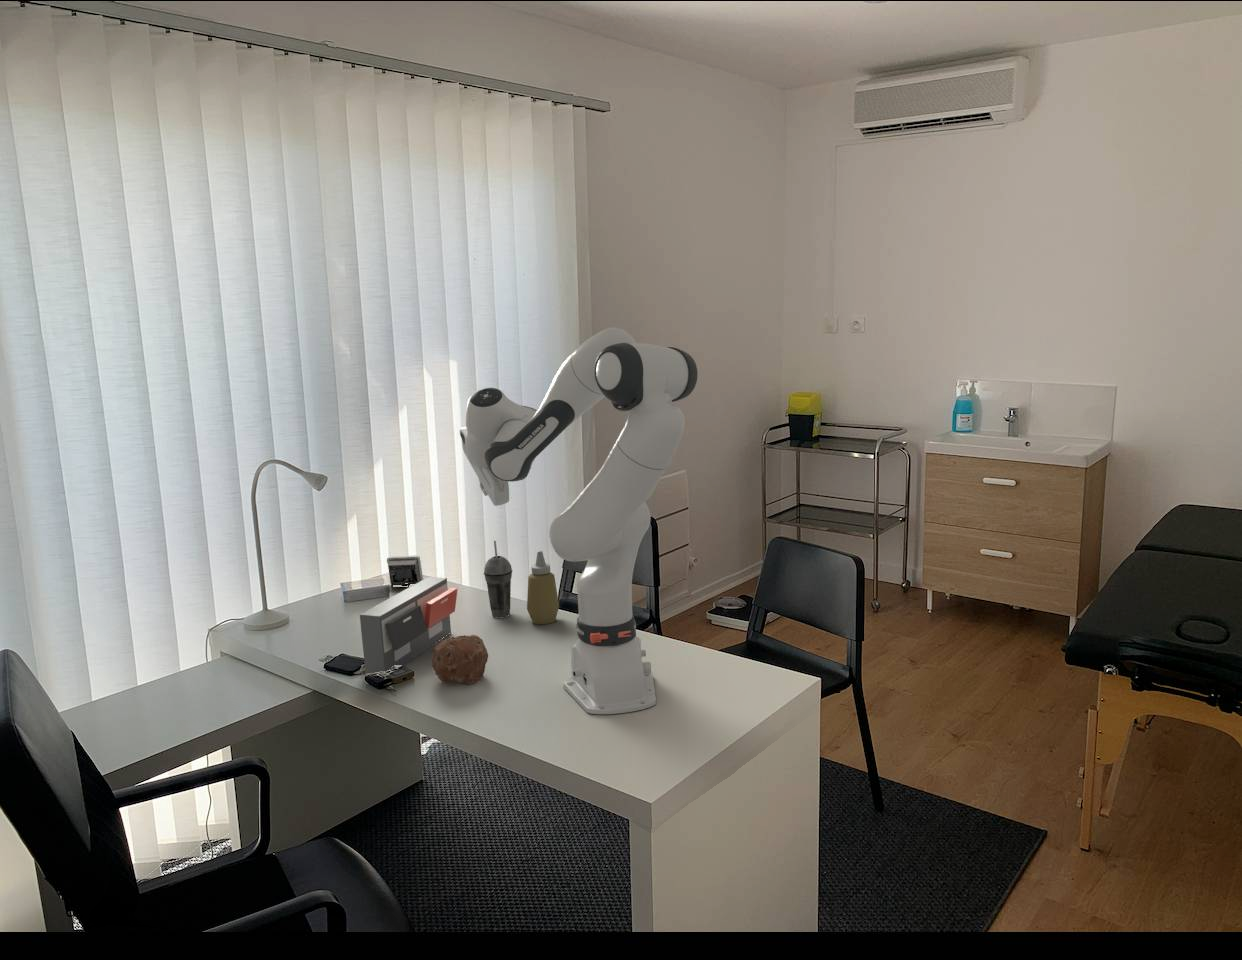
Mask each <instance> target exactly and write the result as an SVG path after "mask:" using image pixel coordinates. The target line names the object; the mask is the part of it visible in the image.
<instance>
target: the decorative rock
mask: <svg viewBox="0 0 1242 960" xmlns="http://www.w3.org/2000/svg"><path fill="white" fill-rule="evenodd" d="M488 659H489V652H488V650H487V648H486V646H485V644H484V640H483V639H482V638H481V637H479V636H478V635H475V634H471V635H465V634H464V635H458V636H456V637H454V636H451V637H450V638H445V639H442V640H441V641H439V643H438V644H436V646H435V647H434V648H433V650H432V656H431V659H430V660H431V663H430V664H431V667H432V668H433V670H434V672H435V673H434V675H435V676H437V678H438V680H439V682H442V683H448V682H454V683H460V684H464V685H466V684H467V685H471V684H473V683H474V682H478V681H479V680H480V679H481V678H483V677H484V674H485V671H486V664H487V663H488Z"/></svg>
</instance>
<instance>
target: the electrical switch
mask: <svg viewBox="0 0 1242 960" xmlns="http://www.w3.org/2000/svg"><path fill="white" fill-rule="evenodd" d="M386 564H387V569H388V573H389V582H390V583H389V584H390V585H391V588H392V586H393V585H402V584H403V585H405V583H408V585H409V584H416V583H418V582H420V581H422V580H424V576H423V570H422V569H423V568H422V561H421V557H420V556H419V555H416V554H415V555H398V556H397V555H395V556H388V557H387V559H386Z"/></svg>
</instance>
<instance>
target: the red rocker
mask: <svg viewBox="0 0 1242 960" xmlns="http://www.w3.org/2000/svg"><path fill="white" fill-rule="evenodd" d="M457 598H458V588H457V587H455V586H453V587H450V588H449V589H448V590H447V591H446V592H444V593H442V594H441V595H439V596H437V597H436V598H434V599H432V600H430V601H429V602H427V604H426V613H425V624H426V628H430V627H431V626H433V625H434V624H436V623H438V622H439V621H441V620H442V619H444V618H445V617H447V616H448V615H450V616H451V615H452V614H453V613H454V612H455V611H456V605H457Z"/></svg>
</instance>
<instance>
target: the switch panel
mask: <svg viewBox="0 0 1242 960" xmlns="http://www.w3.org/2000/svg"><path fill="white" fill-rule="evenodd" d="M447 590H449V589H448V578H447V577H436V576H435V577H434V576H428V577H425V578H423V580H422V581H420V582H418V583H416V584H415V585H413V586H411V587H407V588H406V589H403V590H402V591H400V592H398V593H397V594H394V595H393V596H391V597H389V598H388V599H387V598H386V600H384V601H382V602H380V603H378V604H376V605H375V606H373V607H371V608H369V609H367V610H366V611H364V612H361V613H360V614H359V620H360V621H359V622H360V630H361V631H360V632H361V643H362V650H363V651H362V652H363V661H364V670H365V671H364V672H365V673H371V672H379V671H387V670H388V669H390V668H391V667H392V666H394V665H402V667H404V666H406V665H407V664H408V663H410V662H411V661H413V660H414V659H416V658H417V657H419V656H420V655H422V654H423V653H424V652H426V651H428V650H429V649H430V648H432V647H433V646H434V644H435V643H436V642H438V641H439V640H441V639H442V638H443V637H445V636H446V635H448V634H449V633H451V634H452V627H451V626H452V625H451V617H450V616H451V614H450V615H448V616H447V617H445V618H444V619H442V620H441V621H439V622H438V623H436V624H434V625H433V626H431V627H430V628H427V631H426V632H424V633H423V634H421V635H420V636H418V637H417V638H415V639H414V640H412V641H410V642H409V643H407V644H406V645H404V646H403V647H401V648H400V649H398V650H393V649H392V645H391V642H390V638H389V635H388V631H387V627H386V623H388V622H390V621H392V620H393V619H395V618H397V617H398V616H400V615H402V614H403V613H405V612H407V611H409V610H410V609H412V608H414V607H415V606H421V610H422V613H423V617H424V621H425V613H426V604H427V602H429V601H430V600H432V599H434V598H436V597H437V596H439V595H441V594H442V593H444V592H446V591H447ZM449 635H450V634H449ZM449 635H448V636H449ZM446 637H447V636H446ZM446 637H445V638H446ZM443 639H444V638H443ZM443 639H442V640H443ZM442 640H441V641H442ZM439 642H440V641H439ZM439 642H438V643H439ZM436 644H437V643H436ZM436 644H435V645H436ZM432 645H433V646H432ZM431 646H432V647H431ZM429 647H430V648H429ZM428 648H429V649H428ZM425 650H426V651H425ZM365 673H364V674H365Z"/></svg>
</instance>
